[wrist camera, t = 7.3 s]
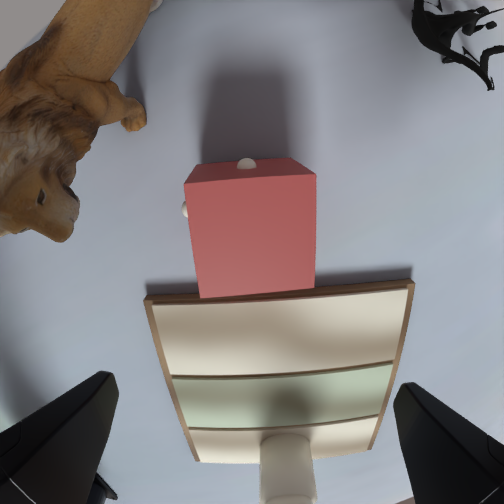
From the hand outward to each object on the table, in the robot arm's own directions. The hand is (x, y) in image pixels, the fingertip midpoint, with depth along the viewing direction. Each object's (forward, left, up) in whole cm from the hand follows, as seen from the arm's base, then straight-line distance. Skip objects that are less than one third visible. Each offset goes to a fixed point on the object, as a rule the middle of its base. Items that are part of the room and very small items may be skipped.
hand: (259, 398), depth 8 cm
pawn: (-13, -1, -6) cm, 14 cm away
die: (+2, 0, -5) cm, 6 cm away
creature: (+14, -11, -8) cm, 19 cm away
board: (-8, -1, -7) cm, 11 cm away
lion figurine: (+11, +4, -8) cm, 14 cm away
